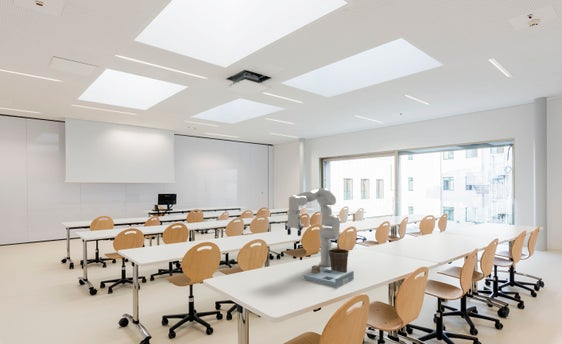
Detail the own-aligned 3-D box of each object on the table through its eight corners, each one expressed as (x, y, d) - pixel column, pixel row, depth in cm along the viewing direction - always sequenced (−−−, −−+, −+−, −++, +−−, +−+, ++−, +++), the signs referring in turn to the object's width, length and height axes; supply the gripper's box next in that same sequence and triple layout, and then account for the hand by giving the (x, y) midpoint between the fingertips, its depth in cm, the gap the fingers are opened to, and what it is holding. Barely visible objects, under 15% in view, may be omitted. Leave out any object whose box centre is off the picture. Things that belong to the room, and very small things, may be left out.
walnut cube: (315, 271, 236) (315, 265, 236) (320, 272, 233) (320, 266, 233) (311, 272, 232) (311, 266, 232) (316, 273, 229) (316, 267, 230)
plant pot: (326, 273, 240) (326, 252, 240) (330, 268, 255) (330, 248, 256) (348, 275, 234) (347, 253, 235) (350, 269, 250) (349, 249, 250)
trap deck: (321, 272, 243) (321, 265, 244) (353, 278, 225) (353, 271, 226) (303, 279, 225) (303, 271, 225) (337, 287, 207) (336, 278, 207)
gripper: (306, 212, 231) (306, 235, 230) (288, 211, 242) (288, 233, 242) (300, 213, 225) (300, 237, 225) (282, 212, 237) (282, 234, 236)
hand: (294, 235), depth 233 cm, fingers open, 9 cm apart
